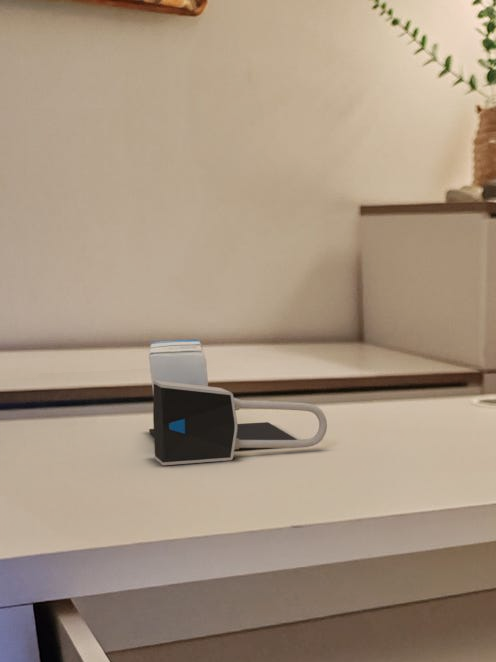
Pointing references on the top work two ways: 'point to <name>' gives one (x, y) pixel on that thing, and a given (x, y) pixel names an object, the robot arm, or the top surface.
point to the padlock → (211, 423)
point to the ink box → (178, 362)
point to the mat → (256, 433)
